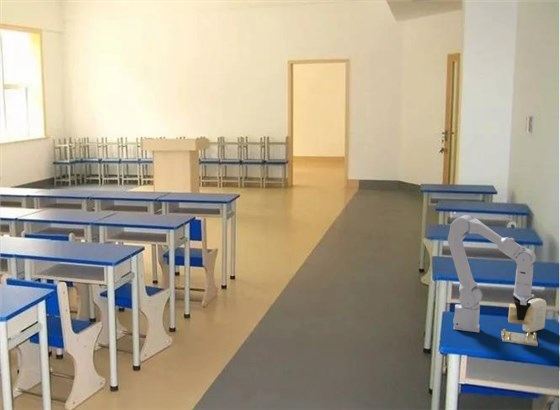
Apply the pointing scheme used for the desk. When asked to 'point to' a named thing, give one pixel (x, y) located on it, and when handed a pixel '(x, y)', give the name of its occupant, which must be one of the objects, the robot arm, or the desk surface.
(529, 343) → the plate
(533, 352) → the desk surface
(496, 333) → the desk surface
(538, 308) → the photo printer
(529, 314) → the board
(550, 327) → the desk surface
